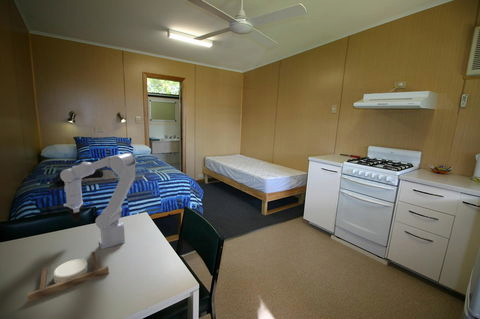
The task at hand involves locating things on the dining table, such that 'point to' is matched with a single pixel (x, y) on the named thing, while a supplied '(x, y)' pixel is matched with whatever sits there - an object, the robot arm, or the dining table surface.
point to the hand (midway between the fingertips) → (76, 221)
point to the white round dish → (70, 270)
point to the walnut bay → (66, 281)
